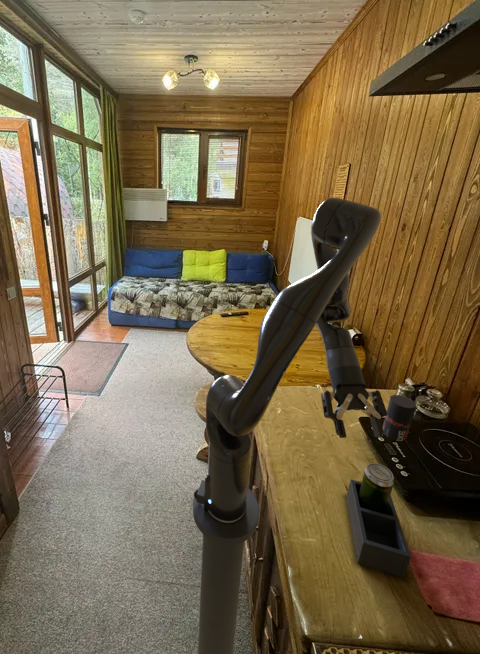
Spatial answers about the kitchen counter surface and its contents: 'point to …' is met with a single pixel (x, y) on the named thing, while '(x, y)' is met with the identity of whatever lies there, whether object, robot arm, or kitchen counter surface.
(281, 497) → the kitchen counter surface
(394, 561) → the box
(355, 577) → the kitchen counter surface
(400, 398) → the deodorant
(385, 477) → the beer can
